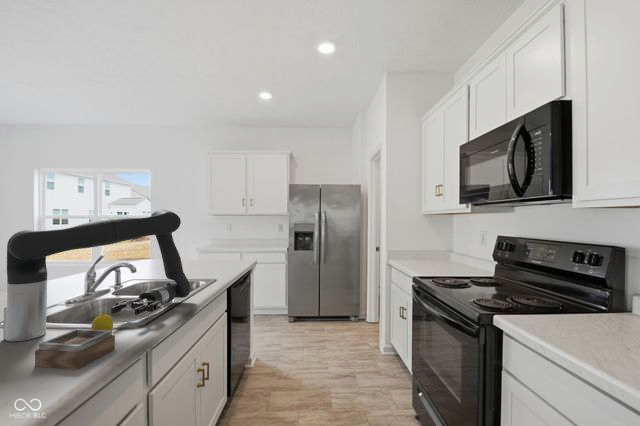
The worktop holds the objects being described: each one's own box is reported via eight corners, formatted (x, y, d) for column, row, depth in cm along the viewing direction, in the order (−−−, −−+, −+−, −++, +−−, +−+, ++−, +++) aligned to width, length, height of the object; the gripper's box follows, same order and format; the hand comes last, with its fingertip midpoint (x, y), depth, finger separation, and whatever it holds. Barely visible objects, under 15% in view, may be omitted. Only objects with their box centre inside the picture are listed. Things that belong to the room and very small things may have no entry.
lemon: (86, 342, 94) (87, 316, 95) (100, 336, 100) (100, 310, 100) (104, 343, 94) (105, 316, 94) (117, 336, 100) (117, 311, 100)
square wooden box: (34, 366, 80) (35, 344, 80) (76, 346, 92) (76, 327, 92) (78, 369, 78) (78, 347, 78) (114, 349, 90) (114, 330, 90)
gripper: (137, 288, 123) (104, 299, 107) (171, 290, 122) (143, 301, 106) (136, 307, 123) (104, 321, 107) (171, 309, 122) (143, 323, 105)
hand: (123, 311), depth 106 cm, fingers open, 8 cm apart
